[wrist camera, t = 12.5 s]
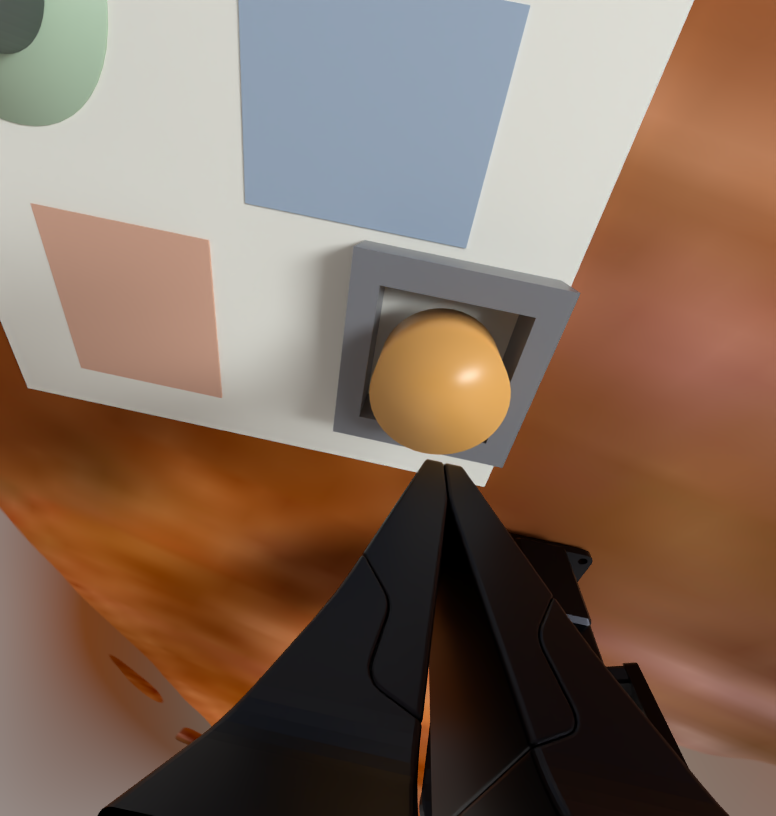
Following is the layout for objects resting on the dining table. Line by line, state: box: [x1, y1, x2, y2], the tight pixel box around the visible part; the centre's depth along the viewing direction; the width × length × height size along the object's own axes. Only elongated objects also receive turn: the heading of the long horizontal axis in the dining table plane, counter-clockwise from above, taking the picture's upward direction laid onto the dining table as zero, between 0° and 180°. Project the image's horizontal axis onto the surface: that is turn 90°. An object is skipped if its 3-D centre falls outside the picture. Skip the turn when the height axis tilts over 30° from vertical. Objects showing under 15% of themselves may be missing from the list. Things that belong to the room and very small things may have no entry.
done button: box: [369, 308, 511, 455], centre depth 12 cm, size 4×4×2 cm
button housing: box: [333, 240, 580, 468], centre depth 14 cm, size 7×7×2 cm
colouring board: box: [0, 0, 694, 487], centre depth 11 cm, size 27×24×1 cm
